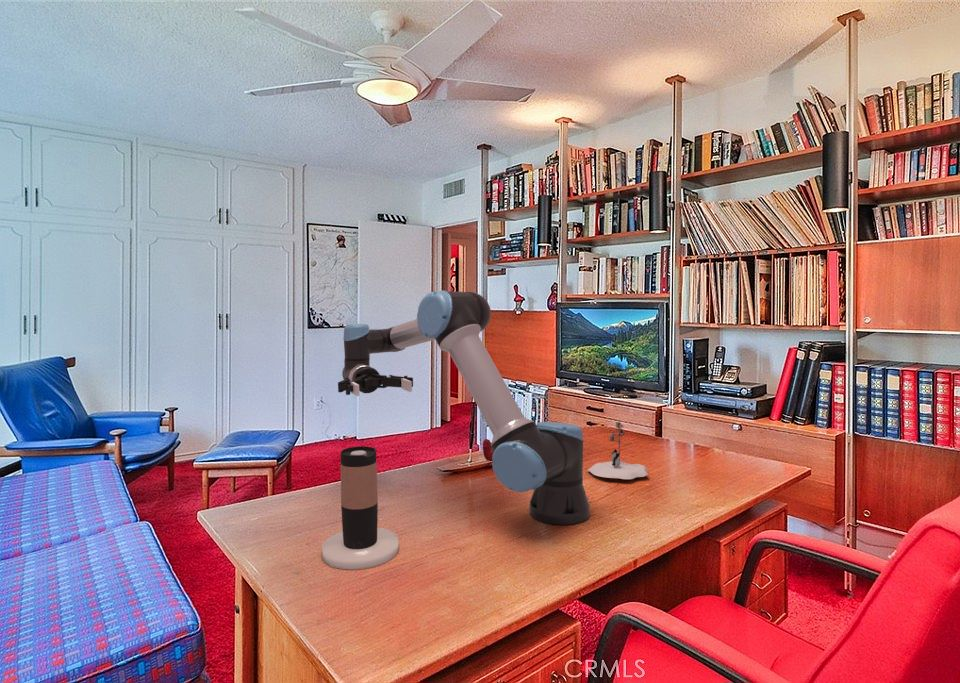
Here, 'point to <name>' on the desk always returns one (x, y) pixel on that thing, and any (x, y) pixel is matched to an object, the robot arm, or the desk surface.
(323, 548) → the white round disc
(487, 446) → the decorative bird figurine
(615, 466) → the figurine
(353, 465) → the travel mug
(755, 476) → the desk surface
